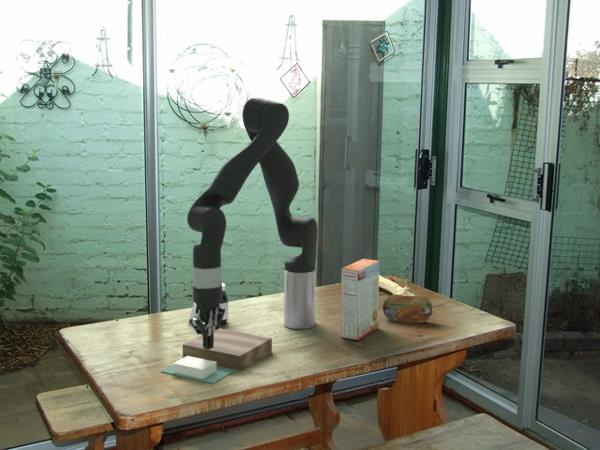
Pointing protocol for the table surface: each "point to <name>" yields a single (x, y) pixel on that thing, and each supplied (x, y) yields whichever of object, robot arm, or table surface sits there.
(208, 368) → the tile
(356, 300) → the cracker box
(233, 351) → the brown wooden board
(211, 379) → the mat
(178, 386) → the table surface
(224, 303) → the spread jar
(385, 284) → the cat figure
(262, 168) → the robot arm
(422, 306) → the tin
